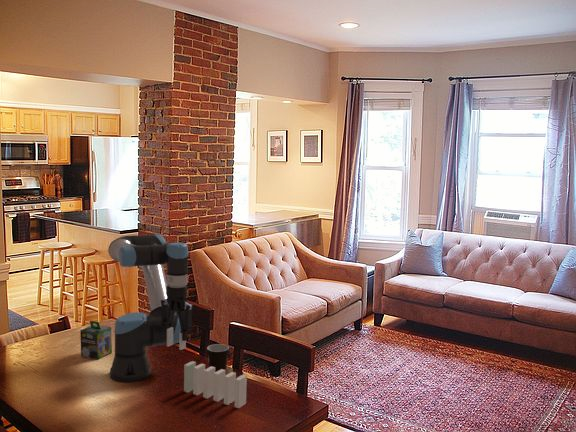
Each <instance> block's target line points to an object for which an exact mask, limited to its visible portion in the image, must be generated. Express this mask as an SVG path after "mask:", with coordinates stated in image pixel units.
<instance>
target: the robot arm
mask: <svg viewBox="0 0 576 432" xmlns="http://www.w3.org/2000/svg"><path fill="white" fill-rule="evenodd" d="M188 247H189V246H188V244H187V243H185V242H176V241H175V242H166V240H165V238H164V237H163V236H162V235H160V234H147V235H146V234H143V235H142V234H141V235H140V234H139V235H138V234H137V235H134V234H133V235H124V236H123V235H122V236H120V237H117V238H115V239H113V240H112V241H111V243H110V244H109V245H108V249H107V250H108V255H109V257H110V258H111V259H112V261H115V262H117V263H118V262H119V265H120V266H121V267H122V268H127V267H128V268H132V267H133V268H134V267H139V268H141V269H142V271H143V272H142V273H143V276H144V277H143V278H144V282H145V288H146V292H147V297H148V302H149V307H150V311H149V313H148V315H147V314H146V313H144V312H137V311H136V312H129V313H125V314H123V315H121V316H119V317H118V318H116V320H115V324H114V330H113V331H114V332H113V333H114V358H113V360H112V364H111V367H110V370H109V377H110V379H111V380H113V381H115V382H120V383H133V382H139V381H142V380H145V379H147V378H148V377H150V375H151V371H152V370H151V365H150V362H149V359H148V356H147V348H149V347H157V346H165V345H166V347H171V346H173V345H174V344H178V343H179V346H178V347H179V349H178V350H180V351H182V350H184V349H186V347H187V344H186V343H187V340H188V332H190V331H192V330H193V309H194V308H193V307H194V304H193V303H189V302H188V300H187V296H188V286H187V285H188V281H189V280H188V279H189V277H188V273H189V272H188V270H189V248H188ZM165 265H166V272H165V269H164V266H165ZM165 273H166V274H165Z"/></svg>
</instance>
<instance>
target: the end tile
mask: <svg viewBox="0 0 576 432" xmlns="http://www.w3.org/2000/svg"><path fill="white" fill-rule="evenodd" d="M196 366H197V362H196V361H193V360H192V361H189V362H187V363H186V364H184V366H183V374H184V375H183V377H184V378H183V392H185V393H190V392H193V378H194V367H196Z"/></svg>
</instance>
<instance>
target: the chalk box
mask: <svg viewBox="0 0 576 432" xmlns="http://www.w3.org/2000/svg"><path fill="white" fill-rule="evenodd" d="M89 323H90V326H88V327H87V326H86V327H85V328H83V329H81V330H80V356H81V357H84V358H88V359H93V360H97V361H98V360H100V359H101V358H103V357H105V356H107V355H109V354H111V353H113V344H112V343H113V342H112V339H113V337H112V327H111V326H109V325H108V326H107V325H101V324H100V322H99V321H93V320H90V321H89Z"/></svg>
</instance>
